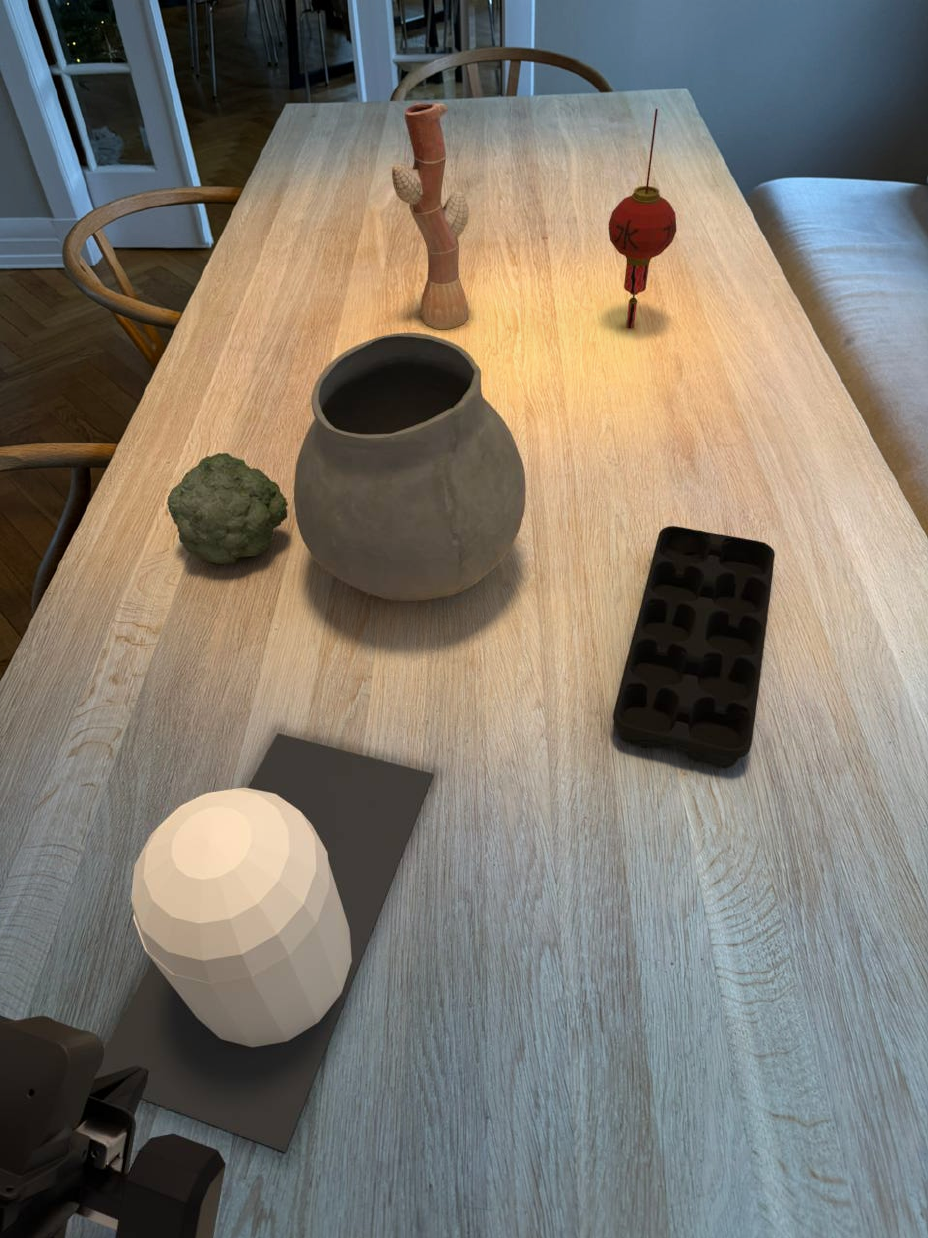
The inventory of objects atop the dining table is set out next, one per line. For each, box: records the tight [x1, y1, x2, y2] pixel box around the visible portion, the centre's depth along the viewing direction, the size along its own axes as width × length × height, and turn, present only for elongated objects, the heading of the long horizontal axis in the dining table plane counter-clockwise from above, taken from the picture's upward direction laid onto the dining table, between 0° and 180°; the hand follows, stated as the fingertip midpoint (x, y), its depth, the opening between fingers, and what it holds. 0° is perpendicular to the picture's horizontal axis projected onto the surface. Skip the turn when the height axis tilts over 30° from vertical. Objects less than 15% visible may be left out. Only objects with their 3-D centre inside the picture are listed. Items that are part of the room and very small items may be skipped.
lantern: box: [608, 108, 677, 330], centre depth 122 cm, size 10×10×30 cm
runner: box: [95, 733, 435, 1154], centre depth 73 cm, size 32×16×1 cm, turn 162°
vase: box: [391, 102, 469, 330], centre depth 125 cm, size 10×7×30 cm
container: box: [130, 787, 352, 1047], centre depth 63 cm, size 14×13×20 cm
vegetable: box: [166, 452, 289, 565], centre depth 101 cm, size 12×13×15 cm
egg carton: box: [612, 525, 776, 769], centre depth 89 cm, size 18×30×4 cm, turn 174°
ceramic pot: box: [293, 332, 527, 602], centre depth 91 cm, size 24×24×25 cm
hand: (142, 1074), depth 54 cm, fingers closed
